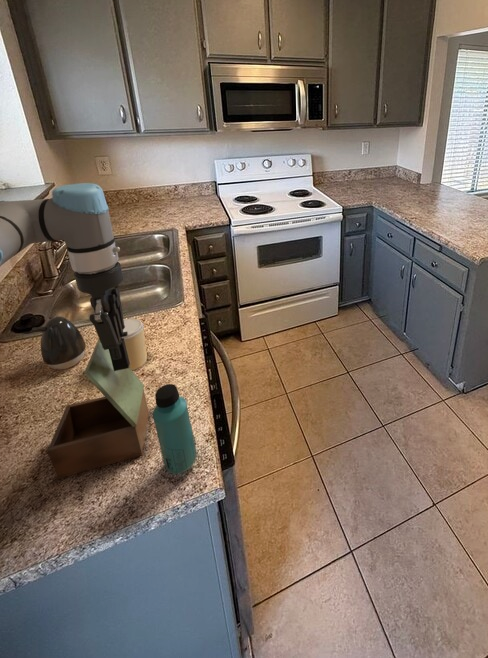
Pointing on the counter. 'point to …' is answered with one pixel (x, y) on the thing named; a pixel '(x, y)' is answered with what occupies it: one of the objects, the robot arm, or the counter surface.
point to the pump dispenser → (61, 343)
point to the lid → (115, 384)
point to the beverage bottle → (174, 430)
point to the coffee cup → (135, 343)
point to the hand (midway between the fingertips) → (122, 367)
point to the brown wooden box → (95, 437)
